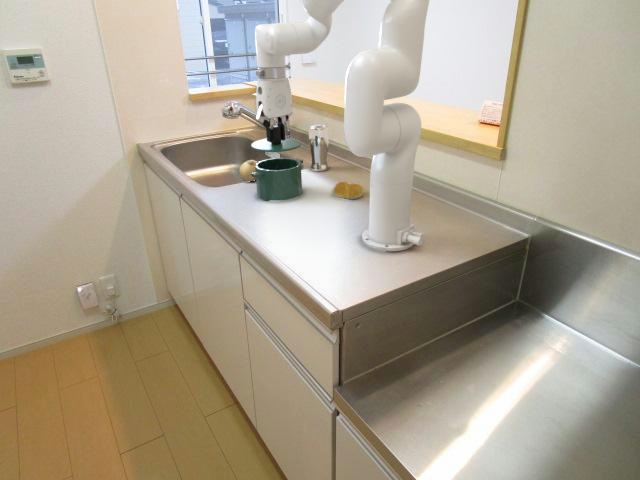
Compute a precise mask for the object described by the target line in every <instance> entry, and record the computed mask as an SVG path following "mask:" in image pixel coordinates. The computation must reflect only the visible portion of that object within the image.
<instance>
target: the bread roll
mask: <svg viewBox="0 0 640 480" xmlns="http://www.w3.org/2000/svg"><path fill="white" fill-rule="evenodd" d="M363 195H364V188H363V186H362V185H361V184H360V183H354V182H352V183H348V182H346V181H340V182H338V183H336V184H335V186H334V187H333V189H332V196H335V197H337V198H341V199H347V200H357V199H359V198H361V197H363Z"/></svg>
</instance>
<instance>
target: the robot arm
mask: <svg viewBox="0 0 640 480" xmlns="http://www.w3.org/2000/svg"><path fill="white" fill-rule="evenodd" d="M344 1H345V0H300V4H301V6H302V8H303V9H304V11H305V12H306V13H307V15H308V16H309V17H308V18H307V19H306V20H305V21H294V22H293V21H292V22H291V21H289V22H275V23H261V24H260V23H259V24H257V25H256V26H255V29H254V36H255V37H254V38H255V52H256V61H257V62H256V64H257V70H255V71H256V72H255V75H256V76H257V77H258V79H257V81H256V90H255V91H256V94H255V98H256V99H255V101H256V103H255V104H256V116H255V121H256V122H258V123H260V124H261V125H263V128H265V132H266V133H265V134H266V139H267V141H268V142H273V143H275V142H276V134H275V129H274V128H273V126H274V119H275V118H276V125H278V126H281V140H285V138H286V126H287V122H288V120H289V118H290V117H291V116H292V115H293V106H294V105H293V95H292V90H291V85H290V80H289V78H288V77H287V72H286V71H287V70H286V56H291V55H305V54H309V53H312V52H314V51H315V50H317V49H318V48H319V47H320V46H321V44H323V43H324V41H326V39H327V38H328V37H329V35H330V33H331V29H332V25H333V13H335V11H336V10H337V9H338V8H339V7H340V6H341V5H342V3H343V2H344ZM429 4H430V0H390V1H389V3H388V5H387V6H386V8H385V10H384V13H383V15H382V18H381V22H380V26H379V40H378V41H379V42H378V48H373V49H366V50H363V51H361V52H358V54H356V55H355V56H354V57H353V58H352V60H351V61H350V63H349V65H348V68H347V70H346V74H345V82H344V83H345V84H344V113H343V115H344V116H343V133H344V141H345V144H346V146H347V148H348V149H349V151H350V152H351V153H352V154H353V155H354V156H356V157H358V158H370V157H372V160H371V164H370V172H369V173H370V174H369V175H370V176H369V207H368V211H369V212H368V213H369V214H368V228H366V230H364V231H363V232H362V235H361V237H362V238H361V239H362V240H361V241H362V242H363V243H364V244H365V245H367V246H368V247H371V248H374V249H376V250H382V251H386V252H401V251H405V250H409V249H411V248H412V247H413V246H414V245H415V246H418V247H421V246H422V244H423V243H424V242H423V241H424V239H423V238H424V234H423V233H422V232H417V231H415V224H414V223H412V222H411V213H412V198H413V183H414V173H415V171H414V170H415V162H416V154H417V150H418V146H419V143H420V138H421V133H422V119H421V117H420V114H419V111H417V110H416V108H415V107H414V106H412V105H410V104H408V103H404V102H392V103H387V104H385V101H388V100H394V99H398V98H403V97H406V96H408V95H411V94H412V93H414V92H415V91H416V89H417V87H418V85H419V81H420V77H421V71H422V70H421V67H422V58H423V50H424V42H425V29H426V28H425V27H426V21H427V15H428V9H429Z"/></svg>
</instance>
